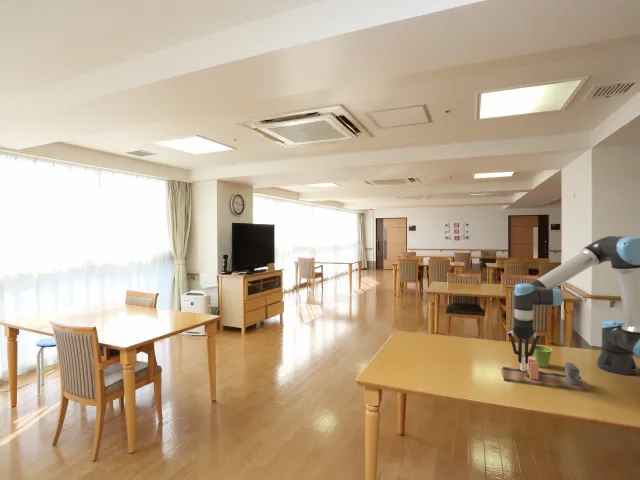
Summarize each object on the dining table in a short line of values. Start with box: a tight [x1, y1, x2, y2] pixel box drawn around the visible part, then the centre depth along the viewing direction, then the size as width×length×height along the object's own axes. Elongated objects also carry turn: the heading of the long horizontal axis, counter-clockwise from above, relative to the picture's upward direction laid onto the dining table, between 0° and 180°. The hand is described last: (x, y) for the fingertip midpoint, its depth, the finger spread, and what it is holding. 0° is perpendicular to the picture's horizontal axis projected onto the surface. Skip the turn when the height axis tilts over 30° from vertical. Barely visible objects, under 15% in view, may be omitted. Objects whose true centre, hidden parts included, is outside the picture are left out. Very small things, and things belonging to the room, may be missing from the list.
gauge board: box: [500, 361, 591, 393], centre depth 161 cm, size 32×12×8 cm, turn 69°
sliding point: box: [526, 356, 540, 380], centre depth 162 cm, size 3×8×7 cm, turn 159°
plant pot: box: [529, 344, 553, 369], centre depth 179 cm, size 9×9×9 cm
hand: (522, 369), depth 164 cm, fingers closed
